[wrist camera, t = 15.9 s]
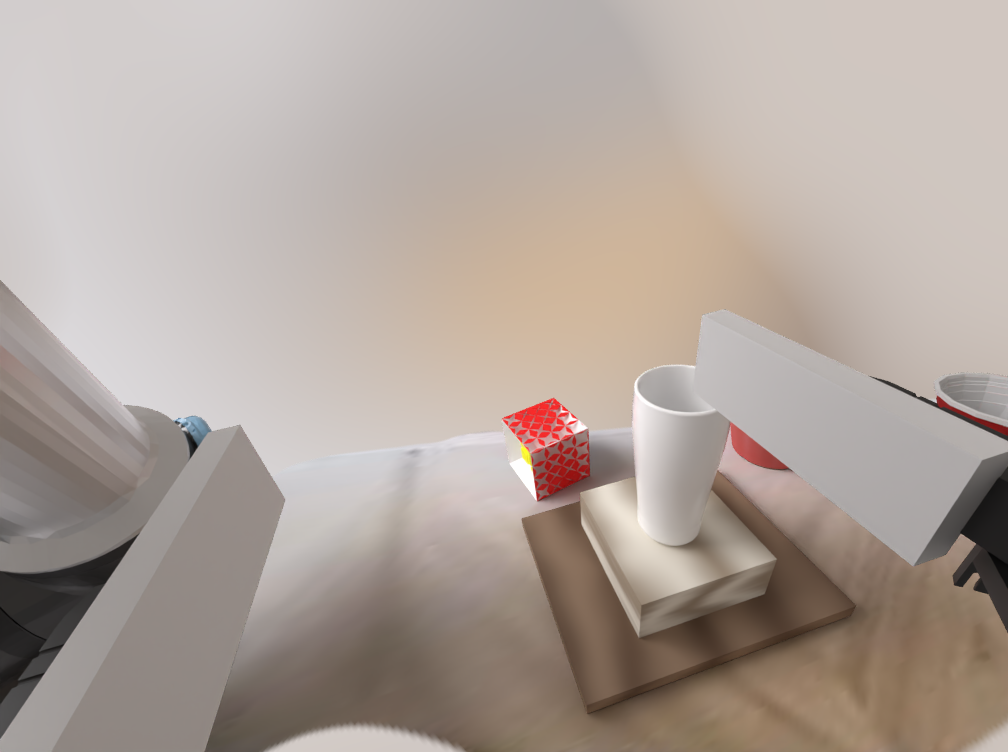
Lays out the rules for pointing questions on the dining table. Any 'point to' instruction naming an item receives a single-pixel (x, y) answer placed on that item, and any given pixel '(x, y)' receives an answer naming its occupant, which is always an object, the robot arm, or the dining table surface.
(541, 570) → the display stand
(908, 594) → the dining table surface
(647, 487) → the drinking glass
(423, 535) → the dining table surface
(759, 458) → the flower pot
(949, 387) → the plastic cup
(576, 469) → the red patterned cube
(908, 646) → the dining table surface
